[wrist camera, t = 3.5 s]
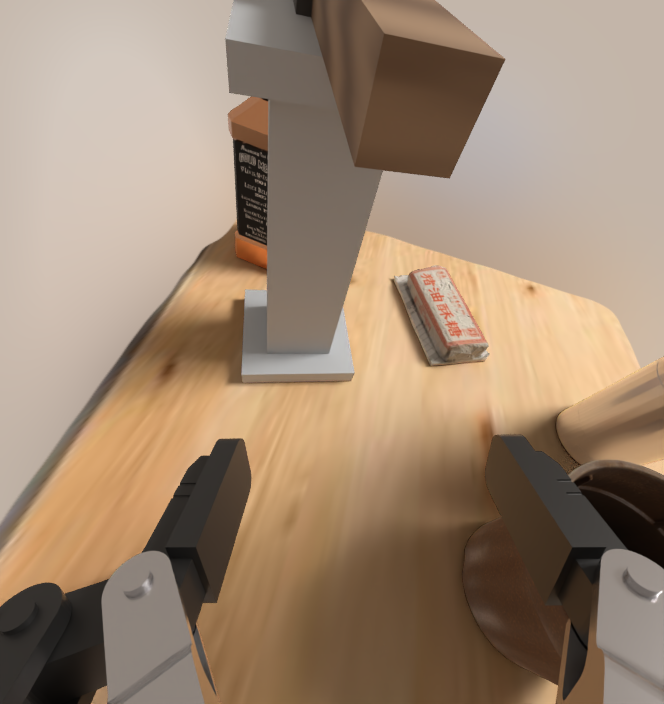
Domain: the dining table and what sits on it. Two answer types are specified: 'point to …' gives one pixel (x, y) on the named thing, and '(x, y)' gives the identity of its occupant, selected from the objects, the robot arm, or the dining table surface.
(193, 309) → the dining table surface
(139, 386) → the dining table surface
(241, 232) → the whiskey bottle
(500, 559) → the plant pot
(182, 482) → the robot arm
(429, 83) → the lever bar
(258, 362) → the grey stand
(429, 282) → the packaged product
